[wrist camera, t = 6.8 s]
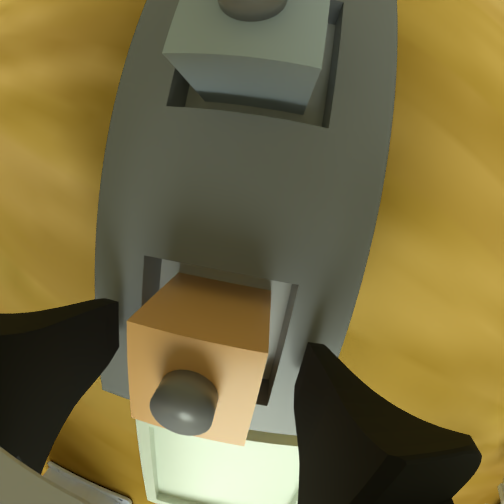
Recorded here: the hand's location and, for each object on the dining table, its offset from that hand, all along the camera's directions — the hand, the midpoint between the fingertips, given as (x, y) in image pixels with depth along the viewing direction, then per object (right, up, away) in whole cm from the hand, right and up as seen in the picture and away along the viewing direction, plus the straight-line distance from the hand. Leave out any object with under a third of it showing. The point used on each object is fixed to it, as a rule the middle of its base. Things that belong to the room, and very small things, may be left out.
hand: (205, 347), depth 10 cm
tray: (0, -12, +6) cm, 13 cm away
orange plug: (0, 0, +3) cm, 3 cm away
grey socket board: (+1, +6, +2) cm, 6 cm away
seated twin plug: (+2, +11, 0) cm, 11 cm away
